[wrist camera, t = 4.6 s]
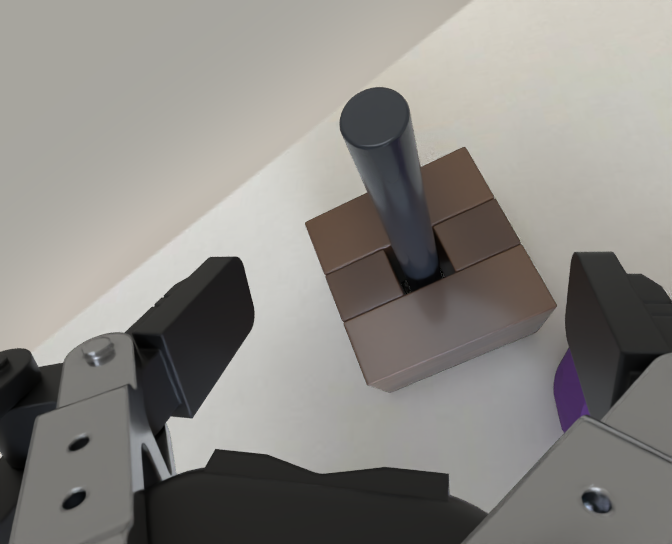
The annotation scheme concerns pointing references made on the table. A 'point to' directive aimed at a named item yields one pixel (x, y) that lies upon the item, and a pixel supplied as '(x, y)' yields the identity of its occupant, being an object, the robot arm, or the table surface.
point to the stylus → (393, 178)
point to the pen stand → (438, 297)
